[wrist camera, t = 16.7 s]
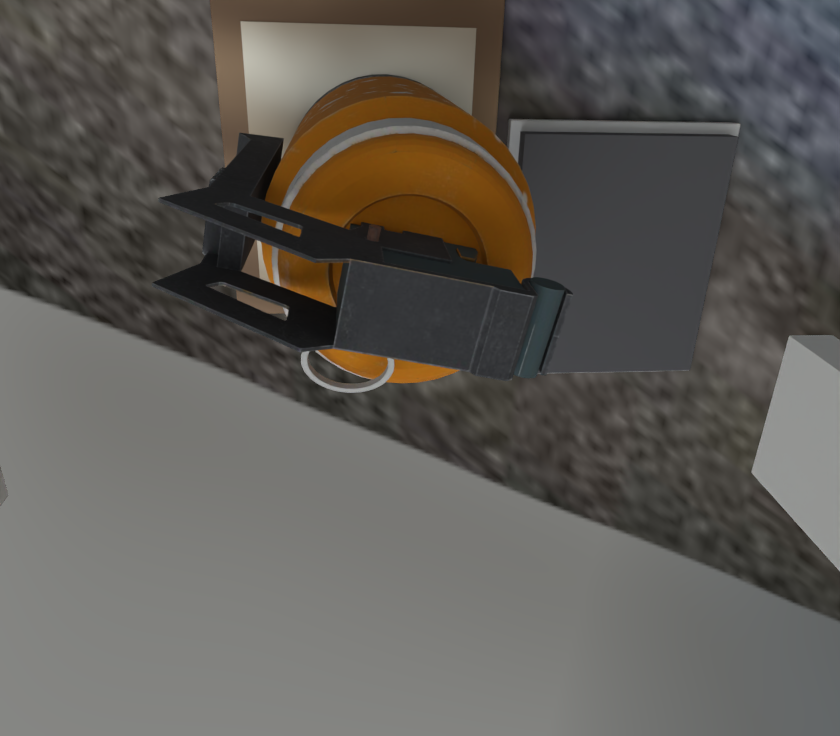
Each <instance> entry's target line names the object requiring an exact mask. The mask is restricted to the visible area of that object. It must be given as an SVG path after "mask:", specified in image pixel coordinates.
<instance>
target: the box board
mask: <svg viewBox="0 0 840 736" xmlns="http://www.w3.org/2000/svg"><path fill="white" fill-rule="evenodd" d="M210 7H211V18H212V29H213V40H214V51H215V62H216V73H217V84H218V95H219V106H220V117H221V128H222V138H223V149H224V160H225V168H226V167H227V165H228V164H229V163H230V162H231V161H232V160H233V159H234V158H235V156H236V154H237V146H238V137H239V133H247V134H255V135H263V136H271V137H279V138H284V142H283V149H282V156H281V159H282V157H283V155H284V153H285V151H286V149H287V148H288V146H289V144H290V142H291V140H292V138H293V136H294V134H295V132H296V130H297V128H298V126H299V124H300V123H301V121H302V119H303V118H304V116H305V114H306V113H307V111H308V110H309V109H310V108H311V107H312V106H313V105H314V103H315V102H316V101H317V100H318V99H319V98H321V97H322V96H323V95H324V94H325V93H327V92H328V91H329V90H331V89H333V88H334V87H336V86H338V85H340V84H341V83H343V82H346V81H349V80H351V79H354V78H357V77H362V76H367V75H375V74H389V75H396V76H402V77H406V78H409V79H412V80H415V81H418V82H420V83H422V84H424V85H425V86H427V87H429V88H431V89H433V90H434V91H436V92H437V93H439V94H440V95H442V96H443V97H445V98H446V99H448V100H449V101H451V102H452V103H454V104H455V105H457V106H458V107H460V108H461V109H463V110H464V111H466V112H467V113H469V114H470V115H472V116H473V117H474V118H476V119H477V120H478V121H480V122H481V123H482V124H484V125H485V126H486V127H487V128H489V129H490V130H491V131H493V132H494V134H495V135H496V125H497V111H498V96H499V81H500V66H501V52H502V37H503V22H504V7H505V0H210ZM242 272H244V273H247V274H249V275H252V276H255V277H257V278H260V279H263V280H265V281H268V282H270V281H269V278H268V275H267V271H266V267H265V264H264V260H263V255H262V245H261V242H260V241H258V240H255V242H254V244H253V246H252V249H251V251H250V253H249V255H248V258H247V260H246V262H245V265H244V267H243V269H242ZM236 292H237V300H239V301H241V302H243V303H245V304H248V305H250V306H252V307H255V308H257V309H259V310H261V311H264V312H266V313H285V311H284V309H283V307H280V306H278V305H275V304H272V303H269V302H267V301H264V300H261V299H258V298H256V297H253V296H250V295H247V294H245V293H242V292H239V291H237V290H236Z"/></svg>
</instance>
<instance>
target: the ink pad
mask: <svg viewBox="0 0 840 736" xmlns="http://www.w3.org/2000/svg"><path fill="white" fill-rule="evenodd" d="M739 128H740V124H739V123H733V122H672V121H610V120H548V119H509V120H508V134H507V148H508V149H509V151H510V152H511V154H512V155H513V157H514V158H515V160H516V161H517V163H518V164H519V166H520V168H521V170H522V173H523V175H524V177H525V179H526V182H527V184H528V186H529V190H530V194H531V198H532V202H533V205H534V214H535V225H536V232H535V239H536V249H537V251H536V266H535V273H534V277H541V278H546V279H550V280H553V281H555V282H558V283H560V284H562V285H563V286H564V287H565V288H567V289H569V290H570V291H571V292H572V293H573V297H572V300H571V303H570V306H569V309H568V312H567V315H566V318H565V321H564V324H563V327H562V330H561V333H560V336H559V339H558V342H557V345H556V348H555V351H554V354H553V357H552V360H551V363H550V366H549V369H548V372H547V373H585V372H638V371H689V370H690V368H691V363H692V358H693V353H694V348H695V344H696V339H697V334H698V329H699V325H700V320H701V315H702V310H703V305H704V301H705V296H706V291H707V286H708V282H709V277H710V272H711V267H712V262H713V258H714V253H715V248H716V243H717V238H718V234H719V229H720V224H721V219H722V215H723V210H724V205H725V200H726V195H727V191H728V186H729V181H730V176H731V172H732V167H733V162H734V157H735V152H736V148H737V143H738V138H739V137H738V133H739ZM538 373H540V371H538Z"/></svg>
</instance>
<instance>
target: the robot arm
mask: <svg viewBox="0 0 840 736" xmlns="http://www.w3.org/2000/svg"><path fill="white" fill-rule="evenodd" d="M751 473H752V474H753V475H754V476H755V477H756V478H757V479H758V480H759V481H760V483H761V484H762V485H763V486H764V487H765V488H766V489H767V490H768V492H769V493H770V494H771V495H772V496H773V497H774V498H775V499H776V500H777V502H778V503H779V504H780V505H781V506H782V507H783V508H784V509H785V511H786V512H787V513H788V514H789V515H790V516H791V517H792V518H793V519H794V521H795V522H796V523H797V524H798V525H799V526H800V527H801V528H802V530H803V531H804V532H805V533H806V534H807V535H808V536H809V537H810V538H811V540H812V541H813V542H814V543H815V544H816V545H817V546H818V547H819V549H820V550H821V551H822V552H823V553H824V554H825V555H826V556H827V557H828V559H829V560H830V561H831V562H832V563H833V564H834V565H835V566H836V568H837V569H838V570H839V571H840V340H839V339H837V338H836V337H834V336H833V335H805V336H789V339H788V342H787V346H786V349H785V353H784V357H783V360H782V364H781V368H780V371H779V375H778V378H777V382H776V386H775V389H774V393H773V396H772V400H771V404H770V407H769V411H768V415H767V418H766V422H765V425H764V429H763V433H762V436H761V440H760V444H759V447H758V451H757V454H756V458H755V462H754V465H753V469H752V472H751ZM7 497H8V492H7V489H6V485H5V481H4V478H3V474H2V471H1V467H0V506H1V505H2V503H3V502H4V501H5V499H6V498H7Z"/></svg>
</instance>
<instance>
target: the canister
mask: <svg viewBox="0 0 840 736" xmlns="http://www.w3.org/2000/svg"><path fill="white" fill-rule="evenodd" d="M283 142H284V138H279V137H271V136H263V135H255V134H247V133H239V137H238V146H237V154H236V156H235V158H234V159H233V160H232V161H231V162H230V163H229V164H228V165H227V167H226V168H223V167H222V168H221V169H220V170H219V171H218V172H217V173H216V174H215V176H213V177H212V179H211V180H210V184H209V187H207V188H202V189H198V190H193V191H188V192H184V193H179V194H174V195H170V196H165V197H161V198H159V200H158V202H160V203H163V204H165V205H168V206H170V207H173V208H175V209H178V210H181V211H183V212H186V213H188V214H191V215H193V216H196V217H199V218H201V219H204V220H206V222H205V232H204V241H203V251H202V253H203V254H204V255H205V257H204V258H203V260H202V262H201V263H200V264H198V265H196V266H193V267H190V268H188V269H185V270H183V271H180V272H178V273H175V274H173V275H170V276H168V277H165V278H163V279H160V280H158V281H155V282H153V283H152V287H155V288H157V289H159V290H161V291H164V292H166V293H168V294H170V295H173V296H175V297H177V298H179V299H182V300H184V301H186V302H188V303H191V304H193V305H195V306H197V307H200V308H202V309H204V310H206V311H209V312H211V313H213V314H216V315H218V316H220V317H222V318H225V319H227V320H229V321H231V322H234V323H236V324H238V325H240V326H243V327H245V328H247V329H249V330H252V331H254V332H256V333H258V334H261V335H263V336H265V337H267V338H270V339H272V340H274V341H276V342H279V343H281V344H283V345H285V346H287V347H290V348H292V349H294V350H296V351H298V352H302V355H301V363H302V367H303V369H304V371H305V373H306V374H307V375H308V376H309V377H310V378H311V379H312V380H313V381H314V382H316V383H317V384H319V385H321V386H323V387H325V388H328V389H331V390H334V391H339V392H347V393H355V392H364V391H368V390H372V389H375V388H377V387H379V386H381V385H382V384H384V383H385V382H393V383H415V382H423V381H428V380H433V379H438V378H441V377H444V376H447V375H449V374H452V373H455V372H457V371H459V370H461V371H467V372H470V373H472V374H474V375H475V376H480V377H486V378H492V379H498V380H504V381H509V380H511V379H512V378H513V374H514V375H516V376H519V377H523V378H535V377H536V376H537V374H538V371H540V375H545V376H546V375H547V372H548V369H549V366H550V363H551V360H552V357H553V354H554V351H555V348H556V345H557V342H558V339H559V336H560V333H561V330H562V327H563V324H564V321H565V318H566V315H567V312H568V309H569V306H570V303H571V300H572V297H573V293H572V292H571V291H570V290H569V289H567V288H565V287H564V286H563V285H562V284H560V283H558V282H555V281H553V280H550V279H546V278H541V277H534V273H535V266H536V251H537V249H536V239H535V232H536V225H535V214H534V205H533V202H532V198H531V194H530V190H529V186H528V184H527V182H526V179H525V177H524V175H523V173H522V170H521V168H520V166H519V164H518V163H517V161H516V160H515V158H514V157H513V155H512V154H511V152H510V151H509V149H508V148H507V146H506V145H505V144H504V143H503V142H502V141H501V140H500V139H499V138H498V137H497V136H496V135H495V134H494V132H493V131H491V130H490V129H489V128H487V127H486V126H485V125H484V124H482V123H481V122H480V121H478V120H477V119H476V118H474V117H473V116H472V115H470V114H469V113H467V112H466V111H464V110H463V109H461V108H460V107H458V106H457V105H455V104H454V103H452V102H451V101H449V100H448V99H446V98H445V97H443V96H442V95H440V94H439V93H437V92H436V91H434V90H433V89H431V88H429V87H427V86H425V85H424V84H422V83H420V82H418V81H415V80H412V79H409V78H406V77H402V76H396V75H389V74H375V75H367V76H362V77H357V78H354V79H351V80H349V81H346V82H343V83H341V84H340V85H338V86H336V87H334V88H333V89H331V90H329V91H328V92H327V93H325V94H324V95H323V96H322V97H321V98H319V99H318V100H317V101H316V102H315V103H314V105H313V106H312V107H311V108H310V109H309V110H308V111H307V113H306V114H305V116H304V118H303V119H302V121H301V123H300V124H299V126H298V128H297V130H296V132H295V134H294V136H293V138H292V140H291V142H290V144H289V146H288V148H287V149H286V151H285V153H284V155H283V157H282V159H281V156H282V149H283ZM255 240H258V241H260V242H261V245H262V255H263V260H264V264H265V267H266V271H267V275H268V278H269V281H270V282H268V281H265V280H263V279H260V278H257V277H255V276H252V275H249V274H247V273H244V272H242V269H243V267H244V265H245V262H246V260H247V258H248V255H249V253H250V251H251V249H252V246H253V244H254V242H255ZM219 285H221V286H226V287H228V288H231V289H234V290H237V291H239V292H242V293H245V294H247V295H250V296H253V297H256V298H258V299H261V300H264V301H267V302H269V303H272V304H275V305H278V306H280V307H283V309H284V311H285V314H286V316H287V320H286V321H284V320H282V319H279V318H277V317H275V316H273V315H270V314H268V313H266V312H264V311H261V310H259V309H257V308H255V307H252V306H250V305H248V304H245V303H243V302H241V301H239V300H236V299H234V298H232V297H230V296H227V295H225V294H223V293H221V292H218V291H216V290H214V289H212V288H209V287H214V286H219ZM310 351H316V352H317V353H318V354H319V355H321V356H322V357H323V358H324V359H326V360H327V361H329V362H331V363H332V364H334V365H336V366H337V367H339V368H341V369H343V370H345V371H348V372H350V373H353V374H355V375H358V376H360V377H364V378H368V379H372V380H371V381H368V382H364V383H357V384H346V383H339V382H335V381H332V380H329V379H327V378H325V377H323V376H322V375H320V374H319V373H318V372H316V371H315V370H314V369H313V367H312V366H311V364H310V362H309V358H308V354H309V352H310Z"/></svg>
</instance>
